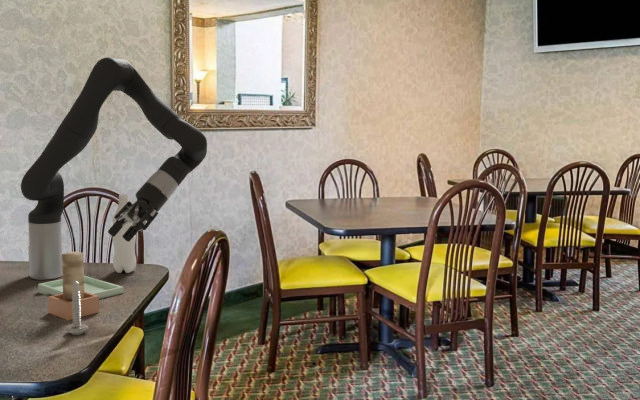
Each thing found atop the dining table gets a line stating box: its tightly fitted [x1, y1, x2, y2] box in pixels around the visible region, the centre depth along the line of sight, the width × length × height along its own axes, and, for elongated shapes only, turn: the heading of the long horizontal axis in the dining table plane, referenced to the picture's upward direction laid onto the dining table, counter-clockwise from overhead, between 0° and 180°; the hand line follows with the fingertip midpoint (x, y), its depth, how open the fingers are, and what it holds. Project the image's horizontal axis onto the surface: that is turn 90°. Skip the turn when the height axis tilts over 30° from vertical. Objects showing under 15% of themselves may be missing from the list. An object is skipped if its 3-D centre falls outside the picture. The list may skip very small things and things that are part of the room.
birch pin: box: [61, 251, 85, 302], centre depth 158 cm, size 5×5×15 cm
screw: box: [64, 281, 89, 336], centre depth 144 cm, size 13×5×5 cm
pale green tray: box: [37, 275, 125, 300], centre depth 178 cm, size 20×14×2 cm
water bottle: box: [111, 193, 137, 274], centre depth 204 cm, size 7×7×25 cm
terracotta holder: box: [47, 291, 100, 321], centre depth 159 cm, size 9×9×5 cm
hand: (117, 236), depth 165 cm, fingers open, 8 cm apart
